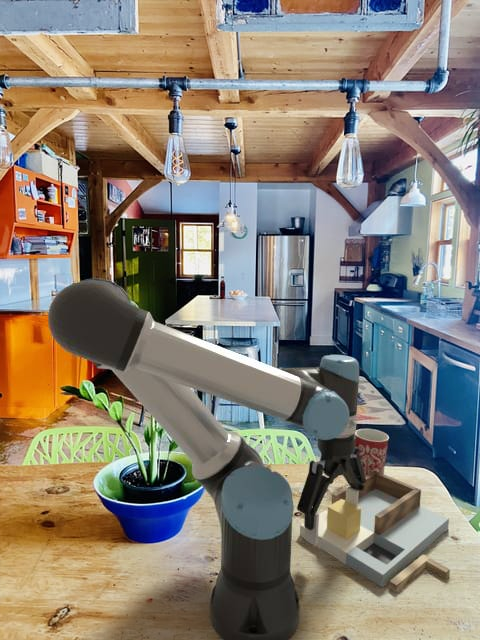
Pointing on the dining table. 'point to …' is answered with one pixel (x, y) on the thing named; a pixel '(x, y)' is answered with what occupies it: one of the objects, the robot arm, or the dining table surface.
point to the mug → (372, 449)
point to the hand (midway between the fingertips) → (332, 529)
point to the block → (343, 518)
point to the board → (381, 538)
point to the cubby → (393, 487)
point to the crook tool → (417, 571)
